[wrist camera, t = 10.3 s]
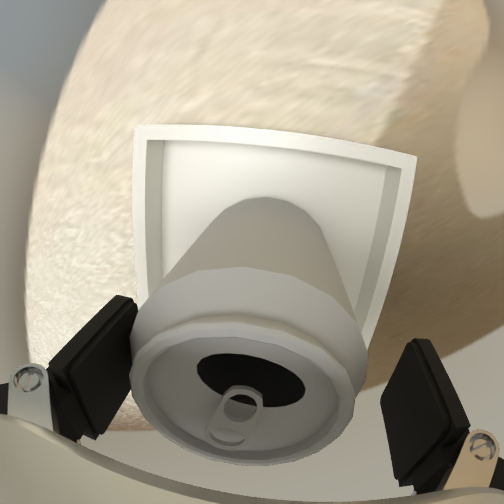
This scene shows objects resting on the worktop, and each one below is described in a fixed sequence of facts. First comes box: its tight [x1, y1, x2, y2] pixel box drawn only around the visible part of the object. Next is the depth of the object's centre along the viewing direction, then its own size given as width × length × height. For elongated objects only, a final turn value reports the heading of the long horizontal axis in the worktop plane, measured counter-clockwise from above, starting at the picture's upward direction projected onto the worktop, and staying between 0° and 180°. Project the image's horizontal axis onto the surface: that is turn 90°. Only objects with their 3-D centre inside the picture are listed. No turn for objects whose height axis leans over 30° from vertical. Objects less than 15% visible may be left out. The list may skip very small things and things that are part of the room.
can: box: [129, 197, 368, 466], centre depth 12 cm, size 8×8×12 cm
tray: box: [132, 125, 417, 349], centre depth 17 cm, size 15×15×3 cm
